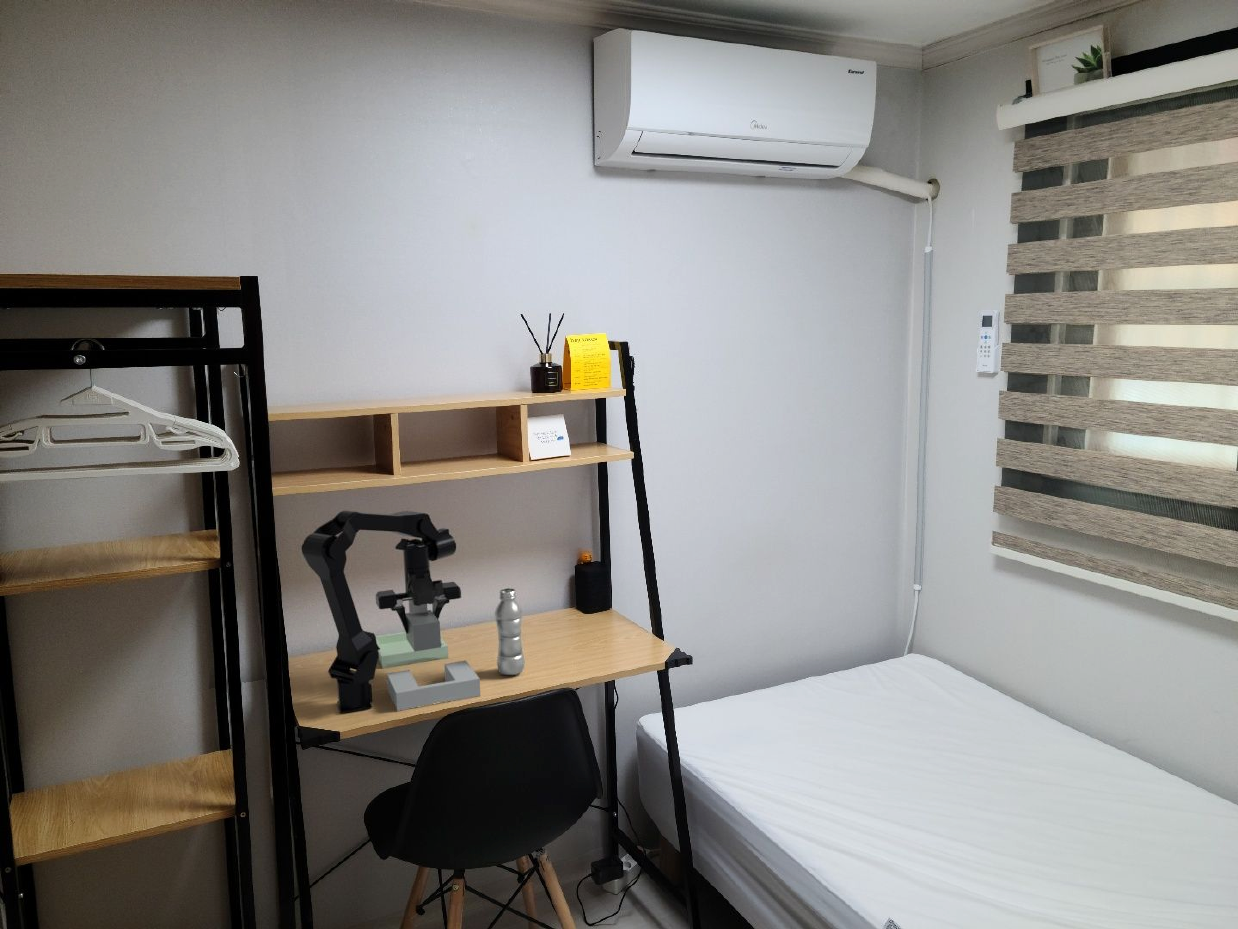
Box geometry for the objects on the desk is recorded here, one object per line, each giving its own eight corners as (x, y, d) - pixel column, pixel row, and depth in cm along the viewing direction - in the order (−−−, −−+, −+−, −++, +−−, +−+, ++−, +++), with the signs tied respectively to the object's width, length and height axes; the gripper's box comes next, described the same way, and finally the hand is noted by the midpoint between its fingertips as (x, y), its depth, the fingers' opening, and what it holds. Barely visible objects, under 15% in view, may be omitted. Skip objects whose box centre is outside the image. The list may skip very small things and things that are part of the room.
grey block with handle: (414, 651, 201) (412, 610, 199) (406, 638, 210) (403, 599, 208) (441, 647, 203) (438, 606, 202) (431, 634, 212) (429, 595, 211)
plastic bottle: (499, 680, 206) (495, 595, 203) (495, 669, 212) (491, 588, 210) (527, 676, 208) (523, 592, 205) (522, 666, 214) (518, 585, 211)
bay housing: (397, 711, 190) (396, 693, 190) (387, 690, 202) (386, 673, 201) (480, 696, 197) (479, 678, 197) (466, 676, 209) (465, 660, 208)
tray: (382, 668, 215) (381, 656, 215) (372, 648, 230) (371, 636, 229) (448, 657, 221) (447, 646, 221) (435, 638, 236) (434, 627, 235)
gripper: (380, 579, 195) (385, 648, 198) (465, 568, 203) (468, 635, 205) (373, 567, 205) (377, 633, 208) (453, 557, 213) (457, 621, 215)
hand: (420, 630), depth 209 cm, fingers closed on grey block with handle, 6 cm apart
